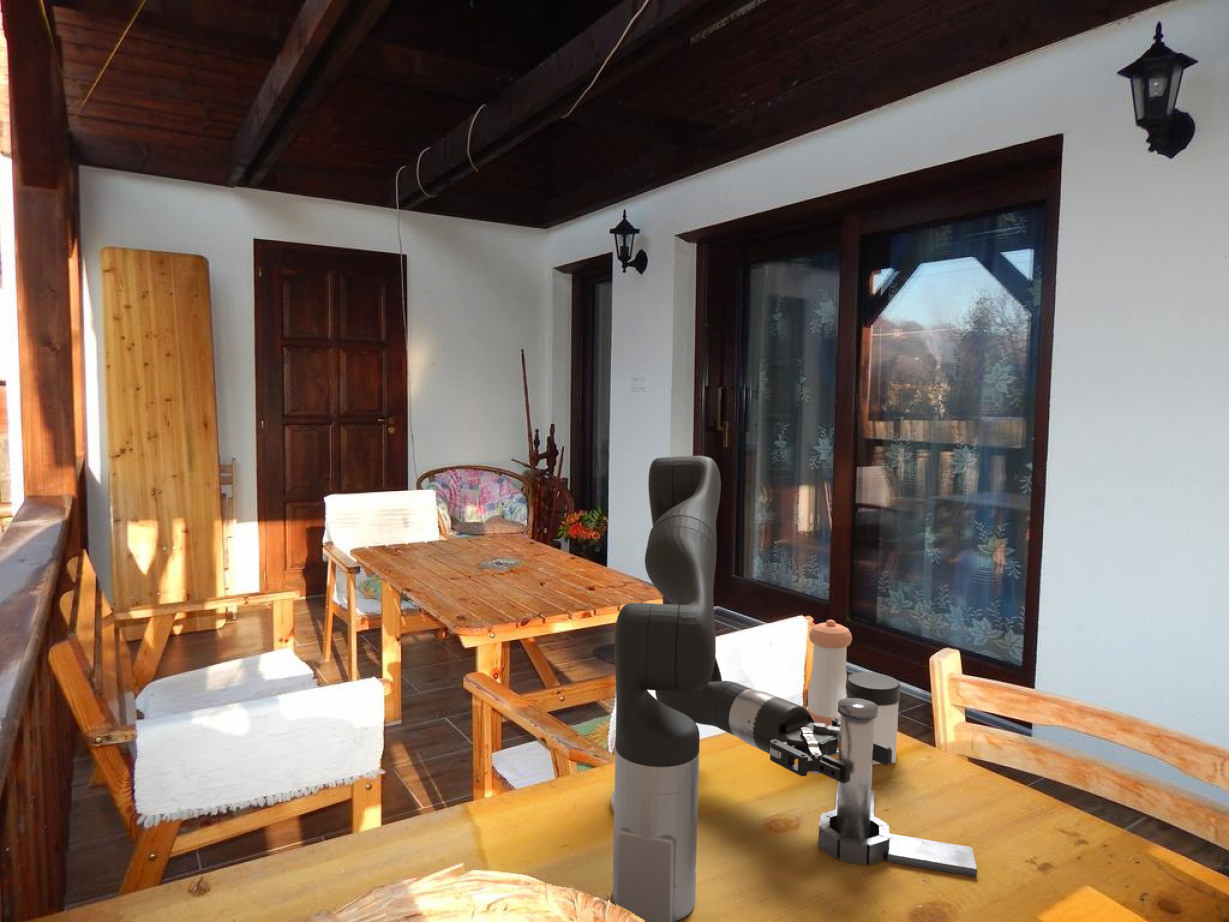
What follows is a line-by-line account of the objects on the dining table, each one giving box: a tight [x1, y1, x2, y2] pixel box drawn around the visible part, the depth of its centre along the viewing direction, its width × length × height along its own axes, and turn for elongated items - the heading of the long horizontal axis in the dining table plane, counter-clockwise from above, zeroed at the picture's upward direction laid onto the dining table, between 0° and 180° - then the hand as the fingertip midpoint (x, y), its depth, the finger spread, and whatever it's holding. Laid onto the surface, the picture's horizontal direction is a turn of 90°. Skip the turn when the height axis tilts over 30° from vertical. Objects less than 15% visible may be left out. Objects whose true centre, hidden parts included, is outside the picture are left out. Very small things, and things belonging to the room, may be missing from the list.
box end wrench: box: [817, 784, 978, 878], centre depth 106 cm, size 18×18×2 cm
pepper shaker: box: [805, 619, 853, 726], centre depth 138 cm, size 7×7×19 cm
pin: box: [836, 698, 878, 840], centre depth 102 cm, size 5×5×18 cm
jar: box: [846, 671, 901, 766], centre depth 129 cm, size 9×8×12 cm
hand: (869, 765), depth 100 cm, fingers open, 8 cm apart
